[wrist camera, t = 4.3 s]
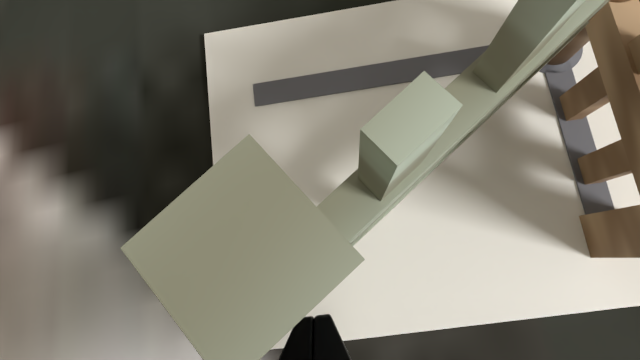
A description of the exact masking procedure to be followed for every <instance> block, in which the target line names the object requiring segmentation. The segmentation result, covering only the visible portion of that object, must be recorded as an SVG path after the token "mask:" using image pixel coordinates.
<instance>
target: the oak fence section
mask: <svg viewBox="0 0 640 360" xmlns="http://www.w3.org/2000/svg"><path fill="white" fill-rule="evenodd" d="M588 21H589V23H588V24H587V25H586V26H585V27H584V28H583V29H582V30H581V31H580V32H579V33H578V34H577V35H576V36H575V37H574V38H573V39H572V40H571V41H570V42H569V43H568V44H567V45H566V46H565V47H564V48H563V49H562V50H561V51H560V52H559V53H558V54H557V55H556V56H555V57H553V58H552V59H551V60H550V61H549V62H548V63H547V64H548V65H559V64H563V63H565V62H566V61H568V60H569V59H570V58H571V57H572V56H573V55H574V54H576V53H577V52H578V51H579V50H580V49H581V48H582V47H583V46H584V45H585V44H586V43H588V42H589V41H590V43H591V46H592V49H593V52H594V56H595V59H596V62H597V65H598V67H597V68H596V69H595V70H593V71H592V72H591V73H589V74H588V75H587V76H586V77H584V78H583V79H582V80H580V81H579V82H578V83H577V84H575V85H574V86H573V87H571V88H570V89H569V90H568V91H566V92H565V93H564V94H563V95H561V96H560V97H559V98H560V101H561V105H562V108H563V112H564V115H565V119H566V121H571V120H577V119H583V118H584V117H586V116H587V115H589V114H591V113H592V112H594V111H596V110H597V109H599V108H601V107H602V106H604V105H606V104H607V103H609V102H610V105H611V108H612V111H613V115H614V118H615V121H616V124H617V127H618V130H619V133H620V136H621V140H618V141H616V142H614V143H612V144H609V145H607V146H605V147H603V148H600V149H598V150H596V151H594V152H591V153H589V154H587V155H584V156H582V157H580V158H578V159H577V160H578V163H579V167H580V170H581V174H582V177H583V180H584V184H585V185H587V184H594V183H601V182H604V181H608V180H611V179H614V178H618V177H621V176H624V175H628V174H631V173H632V174H633V177H634V180H635V183H636V186H637V189H638V192H639V195H640V2H639V0H610V1H609V2H608V3H607V4H605V5H604V6H603V7H602V8H601V9H600V10H599V11H598V12H597V13H596V14H595V15H594V16H593V17H592V18H591V19H590V20H588ZM579 218H580V222H581V225H582V229H583V233H584V236H585V240H586V243H587V247H588V250H589V254H590V257H591V258H640V205H635V206H630V207H625V208H619V209H614V210H608V211H603V212H597V213H592V214H587V215H581V216H579Z"/></svg>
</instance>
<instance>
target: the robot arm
mask: <svg viewBox="0 0 640 360" xmlns="http://www.w3.org/2000/svg"><path fill="white" fill-rule="evenodd" d="M279 360H351V358H350V356H349V354H348V351H347V349H346V347H345V345H344V343H343V341H342V338H341V336H340V334H339V332H338V330H337V327H336V325H335V323H334V321H333V319H332V317H331V315H330V314H324V315H317V316H315V318H314V317H313V316H308V317H304V318H303V319H302V320H301V321H300V322H299V323H298V324H296V325H295V326H294V327H293V329H292V331H291V333H290V335H289V338H288V340H287V342H286V344H285V347H284V349H283V351H282V353H281V355H280V358H279Z"/></svg>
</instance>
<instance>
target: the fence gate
mask: <svg viewBox="0 0 640 360" xmlns="http://www.w3.org/2000/svg"><path fill="white" fill-rule="evenodd" d="M609 1H610V0H518V1H517V3H516V4H515V6H514V7H513V9H512V10H511V12H510V14H509V15H508V17H507V18H506V20H505V21H504V23H503V25H502V26H501V28H500V29H499V31H498V32H497V34H496V36H495V37H494V39H493V40H492V42H491V43H490V45H489V47H488V48H487V50H486V51H485V52H484V53H483V54H481V55H480V56H479V57H478V58H477V59H476V60H475V61H474V62H473V63H472V64H471V65H470V66H468V67H467V68H466V69H465V70H464V71H463V72H462V73H461V74H460V75H459V76H458V77H457V78H455V79H454V80H453V81H452V82H451V83H450V84H449V85H448V86H447V87H446V88H445V89H444V88H443V87H442V86H441V85H440V84H439V83H438V82H436V81H435V80H434V79H433V78H432V77H431V76H430V75H428V74H427V73H426V72H425V71H423V72H422V73H421V74H420V75H419V76H418V77H417V78H416V79H415V80H414V81H412V82H411V83H410V84H409V85H408V86H407V87H406V88H405V89H404V90H403V91H401V92H400V93H399V94H398V95H397V96H396V97H395V98H394V99H393V100H392V101H391V102H389V103H388V104H387V105H386V106H385V107H384V108H383V109H382V110H381V111H380V112H378V113H377V114H376V115H375V116H374V117H373V118H372V119H371V120H370V121H369V122H368V123H366V124H365V125H364V126H363V127H362V128H361V129H360V143H359V164H358V169H357V170H356V171H355V172H354V173H352V174H351V175H350V176H349V177H348V178H347V179H346V180H345V181H344V182H343V183H342V184H341V185H339V186H338V187H337V188H336V189H335V190H334V191H333V192H332V193H331V194H330V195H329V196H328V197H326V198H325V199H324V200H323V201H322V202H321V203H320V204H319V205H318V206H317V207H316V206H315V205H314V204H313V202H312V201H311V200H310V199H309V198H308V197H307V196H306V195H305V194H304V193H303V192H302V191H301V189H300V188H299V187H298V186H297V185H296V184H295V183H294V182H293V181H292V180H291V179H290V178H289V176H288V175H287V174H286V173H285V172H284V171H283V170H282V169H281V168H280V167H279V166H278V165H277V163H276V162H275V161H274V160H273V159H272V158H271V157H270V156H269V155H268V154H267V153H266V152H265V150H264V149H263V148H262V147H261V146H260V145H259V144H258V143H257V142H256V141H255V140H254V139H253V137H252V136H251V135H250V134H248V135H247V136H246V137H245V138H244V139H243V140H242V141H240V142H239V143H238V144H237V145H236V146H235V147H234V148H232V149H231V150H230V151H229V152H228V153H227V154H226V155H225V156H223V157H222V158H221V159H220V160H219V161H218V162H217V163H216V164H214V165H213V166H212V167H211V168H210V169H209V170H208V171H207V172H205V173H204V174H203V175H202V176H201V177H200V178H199V179H198V180H196V181H195V182H194V183H193V184H192V185H191V186H190V187H188V188H187V189H186V190H185V191H184V192H183V193H182V194H181V195H179V196H178V197H177V198H176V199H175V200H174V201H173V202H172V203H170V204H169V205H168V206H167V207H166V208H165V209H164V210H163V211H161V212H160V213H159V214H158V215H157V216H156V217H155V218H154V219H152V220H151V221H150V222H149V223H148V224H147V225H146V226H144V227H143V228H142V229H141V230H140V231H139V232H138V233H137V234H135V235H134V236H133V237H132V238H131V239H130V240H129V241H128V242H126V243H125V244H124V245H123V246H122V247H121V250H122V251H123V252H124V254H125V255H126V256H127V258H128V259H129V260H130V262H131V263H132V265H133V266H134V267H135V269H136V270H137V271H138V273H139V274H140V275H141V277H142V278H143V279H144V281H145V282H146V283H147V285H148V286H149V287H150V289H151V290H152V291H153V293H154V294H155V295H156V297H157V298H158V299H159V301H160V302H161V304H162V305H163V306H164V308H165V309H166V310H167V312H168V313H169V314H170V316H171V317H172V318H173V320H174V321H175V322H176V324H177V325H178V326H179V328H180V329H181V330H182V332H183V333H184V334H185V336H186V337H187V338H188V340H189V341H190V343H191V344H192V345H193V347H194V348H195V349H196V351H197V352H198V353H199V355H200V356H201V357H202V359H203V360H260V359H261V358H262V357H263V356H264V355H265V354H266V353H267V352H268V351H269V350H270V349H271V348H272V347H273V346H274V345H275V344H276V343H278V342H279V341H280V340H281V339H282V338H283V337H284V336H285V335H286V334H287V333H288V332H289V331H290V330H291V329H292V328H293V327H294V326H295V325H296V324H298V323H299V322H300V321H301V320H302V319H303V318H304V317H305V316H306V315H307V314H308V313H309V312H310V311H311V310H312V309H313V308H314V307H315V306H316V305H318V304H319V303H320V302H321V301H322V300H323V299H324V298H325V297H326V296H327V295H328V294H329V293H330V292H331V291H332V290H333V289H334V288H335V287H337V286H338V285H339V284H340V283H341V282H342V281H343V280H344V279H345V278H346V277H347V276H348V275H349V274H350V273H351V272H352V271H353V270H354V269H355V268H357V267H358V266H359V265H360V264H361V263H362V262H363V261H364V260H365V259H364V258H363V257H362V256H361V254H360V253H359V252H358V251H357V250H356V249H355V248H354V247H353V246H354V245H355V244H356V243H357V242H358V241H359V240H360V239H361V238H362V237H363V236H365V235H366V234H367V233H368V232H369V231H370V230H371V229H372V228H373V227H374V226H375V225H376V224H377V223H378V222H379V221H380V220H382V219H383V218H384V217H385V216H386V215H387V214H388V213H389V212H390V211H391V210H392V209H393V208H394V207H395V206H396V205H397V204H399V203H400V202H401V201H402V200H403V199H404V198H405V197H406V196H407V195H408V194H409V193H410V192H411V191H412V190H413V189H414V188H415V187H417V186H418V185H419V184H420V183H421V182H422V181H423V180H424V179H425V178H426V177H427V176H428V175H429V174H430V173H431V172H432V171H434V170H435V169H436V168H437V167H438V166H439V165H440V164H441V163H442V162H443V161H444V160H445V159H446V158H447V157H448V156H449V155H451V154H452V153H453V152H454V151H455V150H456V149H457V148H458V147H459V146H460V145H461V144H462V143H463V142H464V141H465V140H466V139H467V138H469V137H470V136H471V135H472V134H473V133H474V132H475V131H476V130H477V129H478V128H479V127H480V126H481V125H482V124H483V123H484V122H486V121H487V120H488V119H489V118H490V117H491V116H492V115H493V114H494V113H495V112H496V111H497V110H498V109H499V108H500V107H501V106H503V105H504V104H505V103H506V102H507V101H508V100H509V99H510V98H511V97H512V96H513V95H514V94H515V93H516V92H517V91H518V90H519V89H521V88H522V87H523V86H524V85H525V84H526V83H527V82H528V81H529V80H530V79H531V78H532V77H533V76H534V75H535V74H536V73H538V72H539V71H540V70H541V69H542V68H543V67H544V66H545V65H546V64H547V63H548V62H549V61H550V60H551V59H552V58H553V57H555V56H556V55H557V54H558V53H559V52H560V51H561V50H562V49H563V48H564V47H565V46H566V45H567V44H568V43H569V42H570V41H571V40H572V39H573V38H574V37H575V36H576V35H577V34H578V33H579V32H580V31H581V30H582V29H583V28H584V27H585V26H586V25H587V24H588V23H589V21H588V20H590V19H591V18H592V17H593V16H594V15H595V14H596V13H597V12H598V11H599V10H600V9H601V8H602V7H603V6H604V5H605V4H607V3H608V2H609Z"/></svg>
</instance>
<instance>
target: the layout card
mask: <svg viewBox="0 0 640 360" xmlns="http://www.w3.org/2000/svg"><path fill="white" fill-rule="evenodd" d="M517 1H518V0H396V1H390V2H385V3H379V4H373V5H367V6H362V7H356V8H350V9H344V10H339V11H333V12H327V13H321V14H316V15H310V16H304V17H298V18H293V19H287V20H281V21H275V22H270V23H264V24H258V25H252V26H247V27H241V28H235V29H229V30H224V31H218V32H212V33H206V34H204V39H205V54H206V68H207V83H208V97H209V112H210V126H211V141H212V156H213V165H214V164H216V163H217V162H218V161H219V160H220V159H221V158H222V157H223V156H225V155H226V154H227V153H228V152H229V151H230V150H231V149H232V148H234V147H235V146H236V145H237V144H238V143H239V142H240V141H242V140H243V139H244V138H245V137H246V136H247V135H248V134H250V135H251V136H252V137H253V139H254V140H255V141H256V142H257V143H258V144H259V145H260V146H261V147H262V148H263V149H264V150H265V152H266V153H267V154H268V155H269V156H270V157H271V158H272V159H273V160H274V161H275V162H276V163H277V165H278V166H279V167H280V168H281V169H282V170H283V171H284V172H285V173H286V174H287V175H288V176H289V178H290V179H291V180H292V181H293V182H294V183H295V184H296V185H297V186H298V187H299V188H300V189H301V191H302V192H303V193H304V194H305V195H306V196H307V197H308V198H309V199H310V200H311V201H312V202H313V204H314V205H315V206H316V207H317V206H318V205H319V204H320V203H321V202H322V201H323V200H324V199H325V198H326V197H328V196H329V195H330V194H331V193H332V192H333V191H334V190H335V189H336V188H337V187H338V186H339V185H341V184H342V183H343V182H344V181H345V180H346V179H347V178H348V177H349V176H350V175H351V174H352V173H354V172H355V171H356V170H357V169H358V164H359V143H360V129H361V128H362V127H363V126H364V125H365V124H366V123H368V122H369V121H370V120H371V119H372V118H373V117H374V116H375V115H376V114H377V113H378V112H380V111H381V110H382V109H383V108H384V107H385V106H386V105H387V104H388V103H389V102H391V101H392V100H393V99H394V98H395V97H396V96H397V95H398V94H399V93H400V92H401V91H403V90H404V89H405V88H406V87H407V86H408V85H409V84H410V83H411V82H412V81H414V80H415V79H416V78H417V77H418V76H419V75H420V74H421V73H422V72H423V71H425V72H426V73H427V74H428V75H430V76H431V77H432V78H433V79H434V80H435V81H436V82H438V83H439V84H440V85H441V86H442V87H443V88H444V89H445V88H446V87H447V86H448V85H449V84H450V83H451V82H452V81H453V80H454V79H455V78H457V77H458V76H459V75H460V74H461V73H462V72H463V71H464V70H465V69H466V68H467V67H468V66H470V65H471V64H472V63H473V62H474V61H475V60H476V59H477V58H478V57H479V56H480V55H481V54H483V53H484V52H485V51H486V50H487V48H488V47H489V45H490V43H491V42H492V40H493V39H494V37H495V36H496V34H497V32H498V31H499V29H500V28H501V26H502V25H503V23H504V21H505V20H506V18H507V17H508V15H509V14H510V12H511V10H512V9H513V7H514V6H515V4H516V3H517ZM597 67H598V65H597V62H596V59H595V56H594V52H593V49H592V46H591V43H590V41H589V42H588V43H586V44H585V45H584V46H583V47H582V48H581V49H580V50H579V51H578V52H577V53H576V54H574V55H573V56H572V57H571V58H570V59H569V60H568V61H566V62H565V63H563V64H559V65H548V64H546V65H545V66H544V67H543V68H542V69H541V70H540V71H539V72H538V73H536V74H535V75H534V76H533V77H532V78H531V79H530V80H529V81H528V82H527V83H526V84H525V85H524V86H523V87H522V88H521V89H519V90H518V91H517V92H516V93H515V94H514V95H513V96H512V97H511V98H510V99H509V100H508V101H507V102H506V103H505V104H504V105H503V106H501V107H500V108H499V109H498V110H497V111H496V112H495V113H494V114H493V115H492V116H491V117H490V118H489V119H488V120H487V121H486V122H484V123H483V124H482V125H481V126H480V127H479V128H478V129H477V130H476V131H475V132H474V133H473V134H472V135H471V136H470V137H469V138H467V139H466V140H465V141H464V142H463V143H462V144H461V145H460V146H459V147H458V148H457V149H456V150H455V151H454V152H453V153H452V154H451V155H449V156H448V157H447V158H446V159H445V160H444V161H443V162H442V163H441V164H440V165H439V166H438V167H437V168H436V169H435V170H434V171H432V172H431V173H430V174H429V175H428V176H427V177H426V178H425V179H424V180H423V181H422V182H421V183H420V184H419V185H418V186H417V187H415V188H414V189H413V190H412V191H411V192H410V193H409V194H408V195H407V196H406V197H405V198H404V199H403V200H402V201H401V202H400V203H399V204H397V205H396V206H395V207H394V208H393V209H392V210H391V211H390V212H389V213H388V214H387V215H386V216H385V217H384V218H383V219H382V220H380V221H379V222H378V223H377V224H376V225H375V226H374V227H373V228H372V229H371V230H370V231H369V232H368V233H367V234H366V235H365V236H363V237H362V238H361V239H360V240H359V241H358V242H357V243H356V244H355V245H354V246H353V247H354V248H355V249H356V250H357V251H358V252H359V253H360V254H361V256H362V257H363V258H364V259H365V260H364V261H363V262H362V263H361V264H360V265H359V266H358V267H357V268H355V269H354V270H353V271H352V272H351V273H350V274H349V275H348V276H347V277H346V278H345V279H344V280H343V281H342V282H341V283H340V284H339V285H338V286H337V287H335V288H334V289H333V290H332V291H331V292H330V293H329V294H328V295H327V296H326V297H325V298H324V299H323V300H322V301H321V302H320V303H319V304H318V305H316V306H315V307H314V308H313V309H312V310H311V311H310V312H309V313H308V314H307V315H306V316H305V317H308V316H313V317H314V318H315V316H317V315H324V314H330V315H331V317H332V319H333V321H334V323H335V325H336V327H337V330H338V332H339V334H340V336H341V338H342V341H346V340H354V339H363V338H371V337H380V336H388V335H397V334H405V333H413V332H422V331H430V330H439V329H447V328H455V327H464V326H472V325H481V324H489V323H498V322H506V321H514V320H523V319H531V318H540V317H548V316H556V315H565V314H573V313H582V312H590V311H599V310H607V309H615V308H624V307H632V306H640V258H591V257H590V254H589V250H588V247H587V243H586V240H585V236H584V233H583V229H582V225H581V222H580V218H579V216H581V215H587V214H592V213H597V212H603V211H608V210H614V209H619V208H625V207H630V206H635V205H640V195H639V192H638V189H637V186H636V183H635V180H634V177H633V174H632V173H631V174H628V175H624V176H621V177H618V178H614V179H611V180H608V181H604V182H601V183H594V184H587V185H585V184H584V180H583V177H582V174H581V170H580V167H579V163H578V160H577V159H578V158H580V157H582V156H584V155H587V154H589V153H591V152H594V151H596V150H598V149H600V148H603V147H605V146H607V145H609V144H612V143H614V142H616V141H618V140H621V136H620V133H619V130H618V127H617V124H616V121H615V118H614V115H613V111H612V108H611V105H610V102H609V103H607V104H606V105H604V106H602V107H601V108H599V109H597V110H596V111H594V112H592V113H591V114H589V115H587V116H586V117H584V118H583V119H577V120H571V121H566V119H565V115H564V112H563V108H562V105H561V101H560V98H559V97H560V96H561V95H563V94H564V93H565V92H566V91H568V90H569V89H570V88H571V87H573V86H574V85H575V84H577V83H578V82H579V81H580V80H582V79H583V78H584V77H586V76H587V75H588V74H589V73H591V72H592V71H593V70H595V69H596V68H597ZM292 329H293V328H292ZM292 329H291V330H290V331H289V332H288V333H287V334H286V335H285V336H284V337H283V338H282V339H281V340H280V341H279V342H278V343H276V344H275V345H274V346H273V347H272V348H271V349H279V348H284V347H285V344H286V342H287V340H288V338H289V335H290V333H291V331H292Z"/></svg>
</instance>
